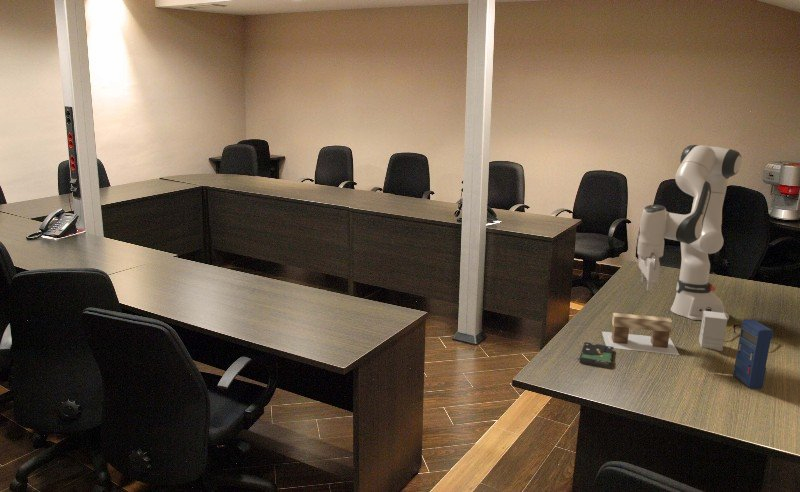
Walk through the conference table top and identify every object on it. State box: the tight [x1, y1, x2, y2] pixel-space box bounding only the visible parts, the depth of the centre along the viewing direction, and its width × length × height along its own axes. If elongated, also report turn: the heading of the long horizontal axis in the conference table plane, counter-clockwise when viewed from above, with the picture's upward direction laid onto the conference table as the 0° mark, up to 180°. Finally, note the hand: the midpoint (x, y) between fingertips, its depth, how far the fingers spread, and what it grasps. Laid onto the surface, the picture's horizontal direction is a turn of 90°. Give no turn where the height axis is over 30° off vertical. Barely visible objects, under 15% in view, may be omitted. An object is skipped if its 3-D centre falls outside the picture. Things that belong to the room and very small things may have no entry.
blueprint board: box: [601, 331, 680, 356], centre depth 234 cm, size 25×16×1 cm, turn 79°
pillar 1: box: [611, 326, 630, 344], centre depth 235 cm, size 5×5×6 cm
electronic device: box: [732, 318, 774, 390], centre depth 204 cm, size 10×5×20 cm, turn 5°
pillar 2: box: [651, 330, 671, 348], centre depth 232 cm, size 5×5×6 cm
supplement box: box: [698, 311, 728, 352], centre depth 233 cm, size 7×7×13 cm
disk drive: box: [579, 341, 615, 369], centre depth 221 cm, size 10×3×15 cm
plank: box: [611, 312, 673, 333], centre depth 232 cm, size 20×4×4 cm, turn 79°
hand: (646, 286), depth 232 cm, fingers open, 8 cm apart
